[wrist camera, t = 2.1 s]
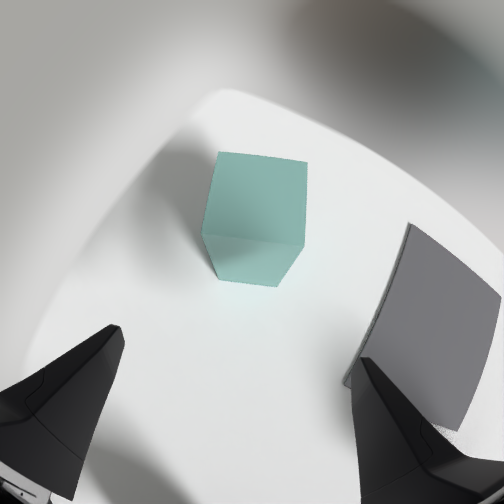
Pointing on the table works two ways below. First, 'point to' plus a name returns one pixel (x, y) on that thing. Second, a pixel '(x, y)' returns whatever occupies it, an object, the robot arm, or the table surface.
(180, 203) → the table surface
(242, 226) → the teal block
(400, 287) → the charcoal mat
